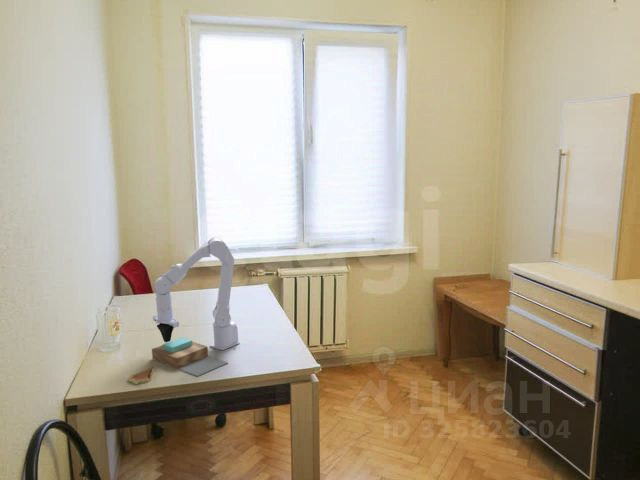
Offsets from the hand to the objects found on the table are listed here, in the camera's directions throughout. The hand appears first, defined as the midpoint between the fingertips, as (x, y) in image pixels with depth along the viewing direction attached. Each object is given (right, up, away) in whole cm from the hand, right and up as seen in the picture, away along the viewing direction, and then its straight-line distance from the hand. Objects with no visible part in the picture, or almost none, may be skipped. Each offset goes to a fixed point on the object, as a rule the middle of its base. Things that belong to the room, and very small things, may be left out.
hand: (167, 341), depth 196 cm
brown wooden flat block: (+6, -5, -4) cm, 9 cm away
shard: (-3, -9, -20) cm, 23 cm away
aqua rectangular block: (+5, -1, -4) cm, 7 cm away
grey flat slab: (+17, -7, -13) cm, 23 cm away
